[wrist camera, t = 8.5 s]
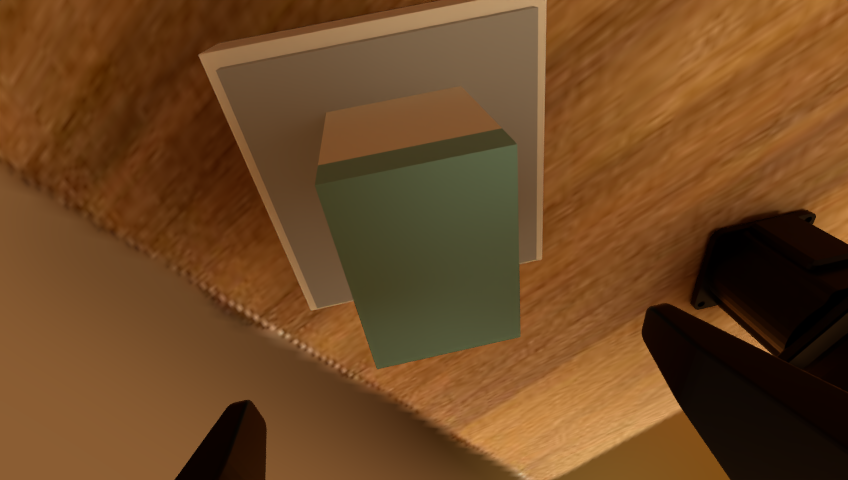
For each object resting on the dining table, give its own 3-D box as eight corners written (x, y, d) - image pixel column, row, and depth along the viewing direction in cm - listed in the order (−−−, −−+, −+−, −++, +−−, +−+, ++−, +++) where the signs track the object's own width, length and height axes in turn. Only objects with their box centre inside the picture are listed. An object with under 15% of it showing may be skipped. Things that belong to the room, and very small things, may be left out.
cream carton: (461, 86, 15) (517, 144, 10) (475, 240, 19) (520, 336, 14) (326, 112, 15) (315, 185, 10) (369, 263, 19) (377, 369, 14)
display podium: (524, 233, 23) (545, 265, 20) (314, 279, 22) (310, 317, 20) (521, -16, 16) (552, -13, 13) (218, 43, 15) (193, 57, 13)
